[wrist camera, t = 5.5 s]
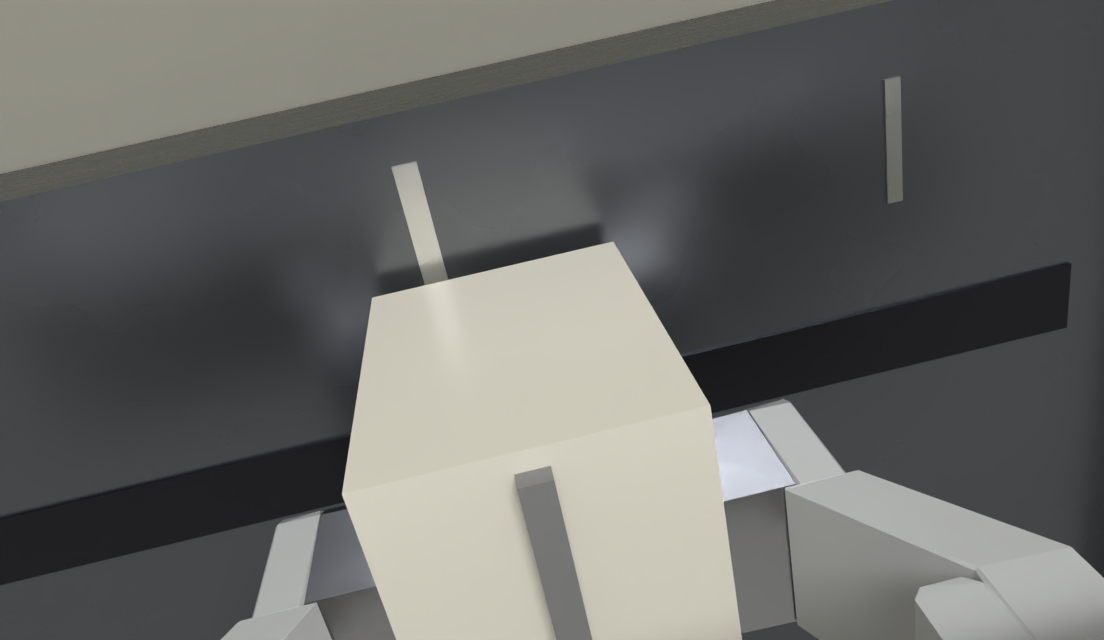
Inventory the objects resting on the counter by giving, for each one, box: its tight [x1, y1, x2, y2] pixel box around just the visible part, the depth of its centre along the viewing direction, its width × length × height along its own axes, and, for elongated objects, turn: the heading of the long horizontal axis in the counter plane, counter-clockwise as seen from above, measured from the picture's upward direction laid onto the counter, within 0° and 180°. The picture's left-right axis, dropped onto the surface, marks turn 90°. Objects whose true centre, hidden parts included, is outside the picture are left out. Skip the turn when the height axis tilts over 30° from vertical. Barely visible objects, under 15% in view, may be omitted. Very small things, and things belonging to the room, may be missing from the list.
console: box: [0, 0, 1104, 640], centre depth 14 cm, size 24×17×3 cm
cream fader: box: [342, 242, 742, 640], centre depth 10 cm, size 3×5×4 cm, turn 11°
